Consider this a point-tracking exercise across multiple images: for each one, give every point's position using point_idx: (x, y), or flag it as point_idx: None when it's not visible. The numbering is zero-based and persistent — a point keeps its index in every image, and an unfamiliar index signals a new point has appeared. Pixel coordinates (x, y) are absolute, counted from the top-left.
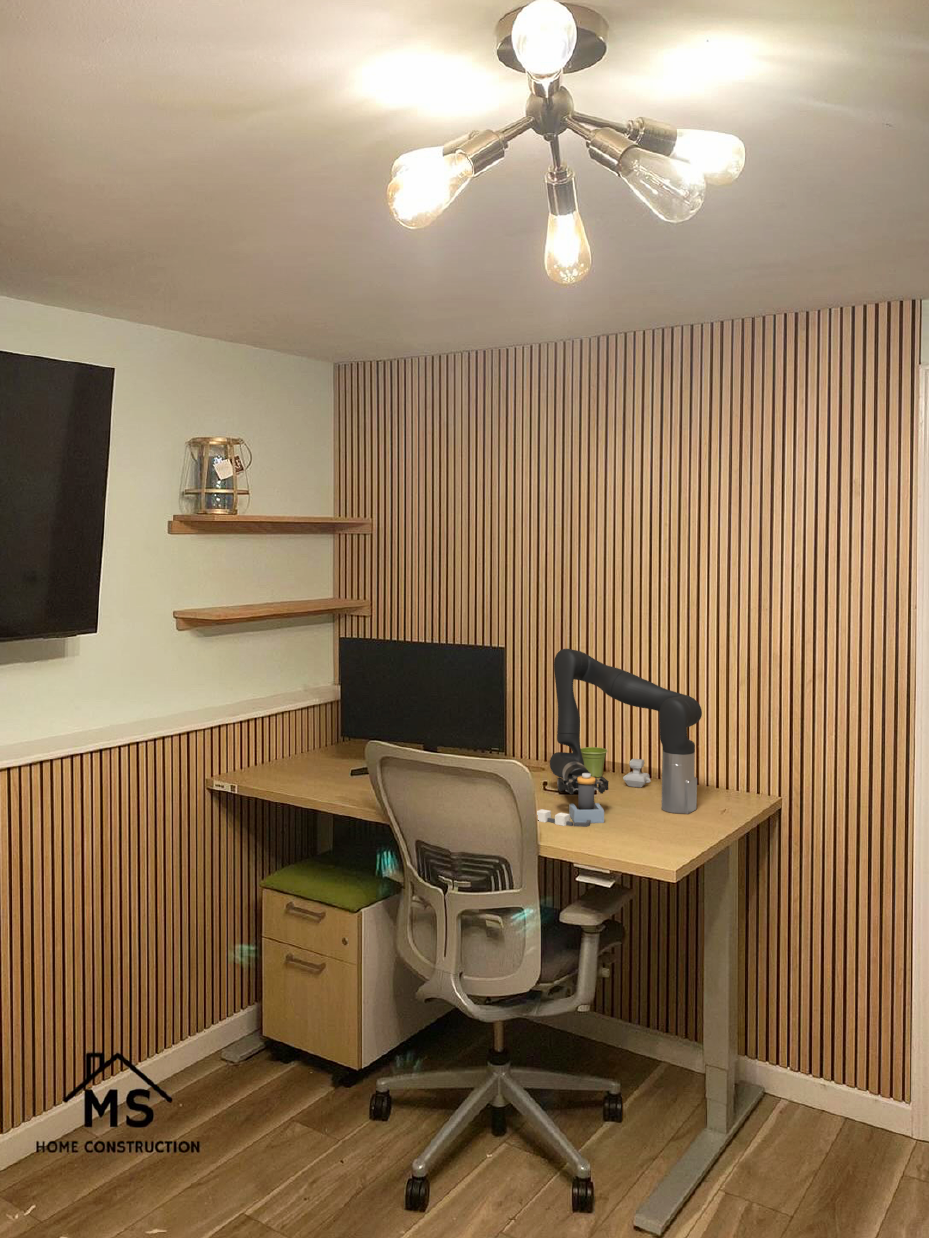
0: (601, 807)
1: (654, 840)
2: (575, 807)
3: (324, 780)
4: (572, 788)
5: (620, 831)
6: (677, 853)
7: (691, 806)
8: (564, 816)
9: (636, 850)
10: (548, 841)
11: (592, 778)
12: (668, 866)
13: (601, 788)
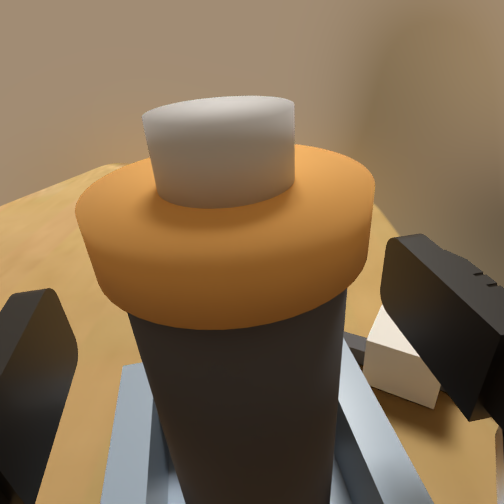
0: (114, 442)
1: (32, 255)
2: (350, 411)
3: None
4: (395, 246)
5: (108, 309)
6: (37, 205)
7: None
8: None
9: None
10: (377, 214)
11: (135, 181)
12: (103, 170)
13: (54, 303)
